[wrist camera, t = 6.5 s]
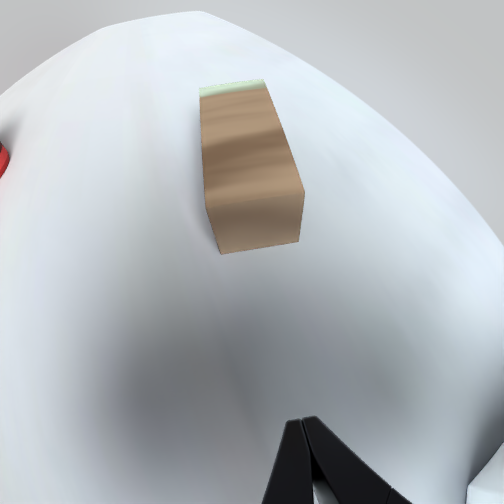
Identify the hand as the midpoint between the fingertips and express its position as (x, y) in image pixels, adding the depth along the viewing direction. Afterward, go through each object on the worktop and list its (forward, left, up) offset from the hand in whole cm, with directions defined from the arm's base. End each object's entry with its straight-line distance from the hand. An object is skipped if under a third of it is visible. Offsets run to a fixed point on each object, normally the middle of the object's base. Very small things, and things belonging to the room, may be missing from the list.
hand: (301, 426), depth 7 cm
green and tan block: (+8, -6, -5) cm, 12 cm away
